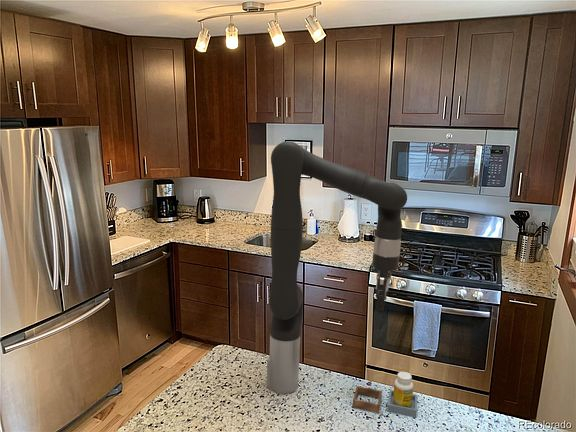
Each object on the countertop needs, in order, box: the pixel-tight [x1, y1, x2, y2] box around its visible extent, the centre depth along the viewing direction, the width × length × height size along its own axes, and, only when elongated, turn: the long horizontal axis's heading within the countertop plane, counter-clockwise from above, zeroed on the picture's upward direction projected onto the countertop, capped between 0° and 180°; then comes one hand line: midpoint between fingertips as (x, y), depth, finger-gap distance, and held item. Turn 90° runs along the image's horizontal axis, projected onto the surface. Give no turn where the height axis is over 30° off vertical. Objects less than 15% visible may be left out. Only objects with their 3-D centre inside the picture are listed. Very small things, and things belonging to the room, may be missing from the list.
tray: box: [386, 389, 418, 418], centre depth 128 cm, size 8×8×2 cm
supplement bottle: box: [393, 371, 414, 408], centre depth 127 cm, size 5×5×10 cm
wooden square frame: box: [351, 385, 383, 414], centre depth 129 cm, size 8×8×2 cm
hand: (381, 304), depth 130 cm, fingers open, 8 cm apart
